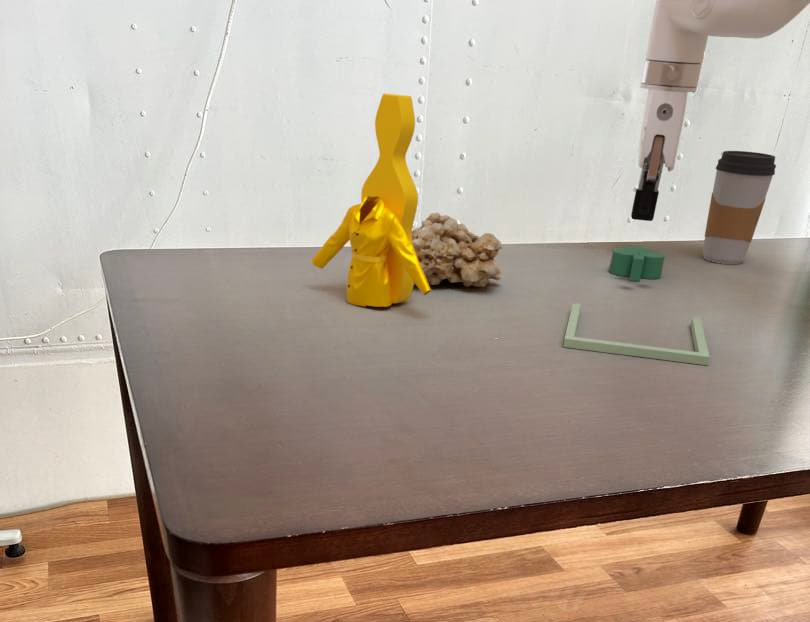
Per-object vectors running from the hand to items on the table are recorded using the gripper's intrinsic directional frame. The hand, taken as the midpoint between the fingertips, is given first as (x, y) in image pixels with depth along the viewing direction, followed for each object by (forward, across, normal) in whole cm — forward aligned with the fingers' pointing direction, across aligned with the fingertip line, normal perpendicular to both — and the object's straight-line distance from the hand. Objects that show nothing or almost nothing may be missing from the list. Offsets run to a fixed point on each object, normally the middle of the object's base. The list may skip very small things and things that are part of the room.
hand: (641, 218), depth 121 cm
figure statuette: (+6, -38, +30) cm, 49 cm away
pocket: (+6, -38, 0) cm, 39 cm away
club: (+6, -8, 0) cm, 10 cm away
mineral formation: (+6, -24, +24) cm, 34 cm away
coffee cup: (+6, +6, -14) cm, 16 cm away
